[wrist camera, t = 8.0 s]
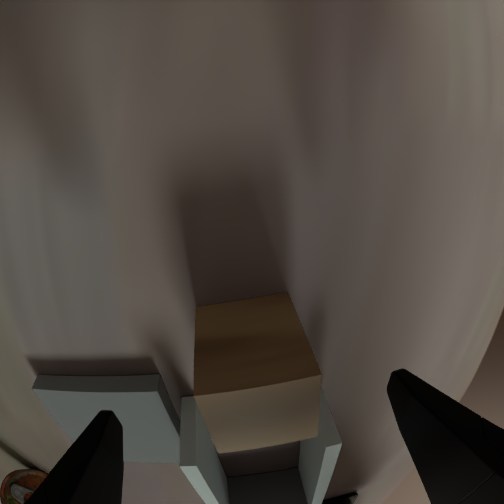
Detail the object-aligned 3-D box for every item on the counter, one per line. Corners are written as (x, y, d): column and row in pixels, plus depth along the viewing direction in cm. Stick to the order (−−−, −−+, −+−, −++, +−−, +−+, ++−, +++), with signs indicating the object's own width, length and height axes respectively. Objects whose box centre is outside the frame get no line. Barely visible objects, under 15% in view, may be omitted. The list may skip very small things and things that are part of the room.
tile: (192, 448, 18) (192, 462, 17) (91, 445, 18) (88, 458, 16) (159, 374, 15) (157, 391, 14) (38, 374, 14) (31, 388, 13)
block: (291, 356, 15) (317, 436, 11) (213, 369, 15) (218, 453, 10) (287, 291, 14) (321, 374, 9) (196, 306, 13) (193, 396, 9)
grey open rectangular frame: (307, 469, 22) (319, 517, 17) (219, 482, 21) (223, 531, 17) (318, 378, 16) (345, 451, 12) (181, 397, 16) (179, 475, 11)
